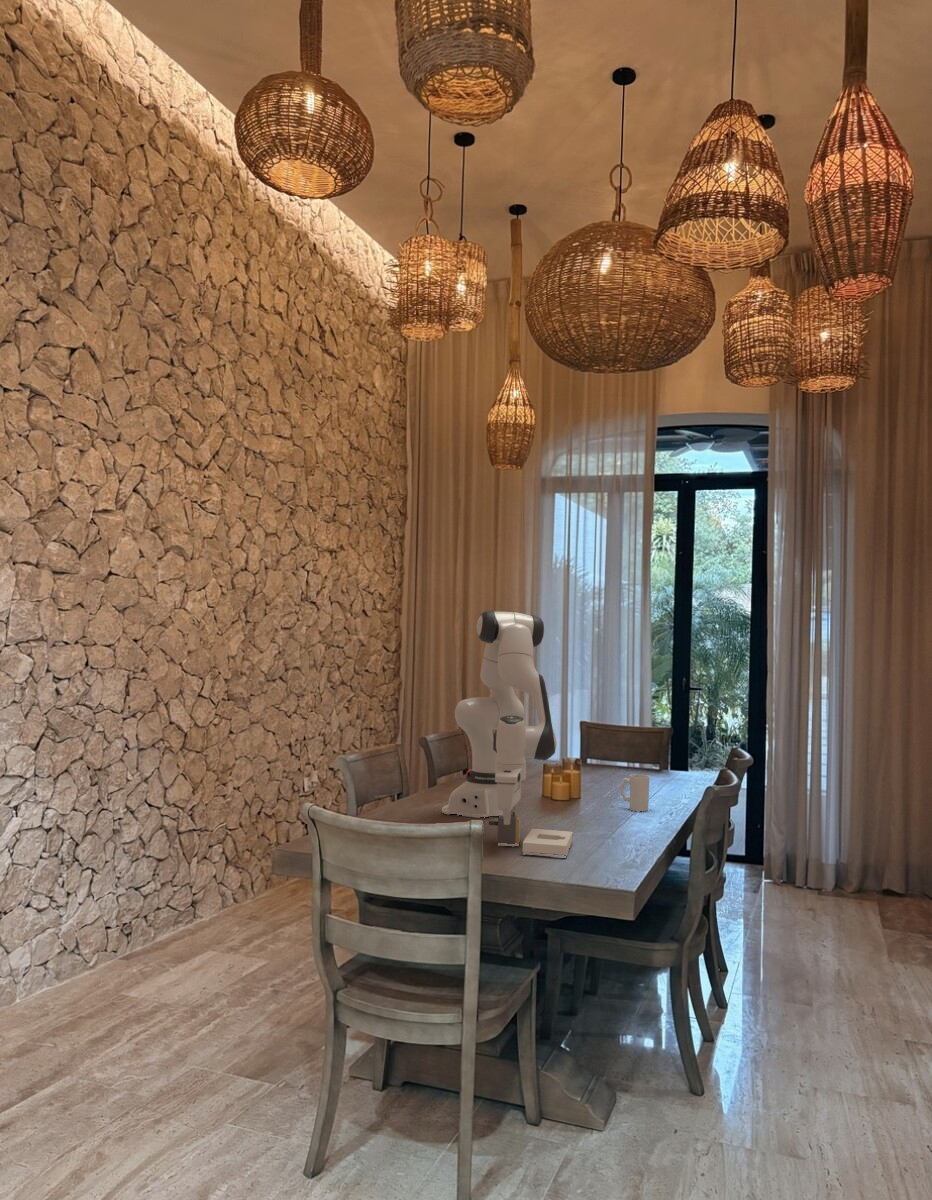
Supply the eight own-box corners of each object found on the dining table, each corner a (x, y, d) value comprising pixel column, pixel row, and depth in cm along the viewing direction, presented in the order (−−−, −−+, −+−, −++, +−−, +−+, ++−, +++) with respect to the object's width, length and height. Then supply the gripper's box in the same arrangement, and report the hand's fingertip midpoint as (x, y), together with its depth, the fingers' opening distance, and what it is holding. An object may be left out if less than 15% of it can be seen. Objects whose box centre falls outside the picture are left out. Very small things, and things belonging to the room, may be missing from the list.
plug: (487, 845, 260) (487, 817, 260) (489, 842, 264) (490, 814, 264) (518, 847, 258) (518, 819, 259) (520, 844, 262) (520, 816, 262)
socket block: (522, 855, 250) (522, 842, 250) (531, 840, 268) (532, 828, 268) (565, 858, 247) (566, 846, 247) (572, 843, 265) (572, 831, 265)
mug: (650, 809, 319) (651, 775, 320) (647, 813, 313) (647, 778, 314) (621, 806, 323) (622, 773, 323) (618, 810, 317) (618, 775, 317)
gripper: (505, 767, 272) (504, 813, 272) (493, 777, 252) (492, 827, 252) (526, 768, 271) (525, 815, 270) (516, 778, 251) (515, 828, 250)
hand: (509, 821), depth 261 cm, fingers open, 8 cm apart
